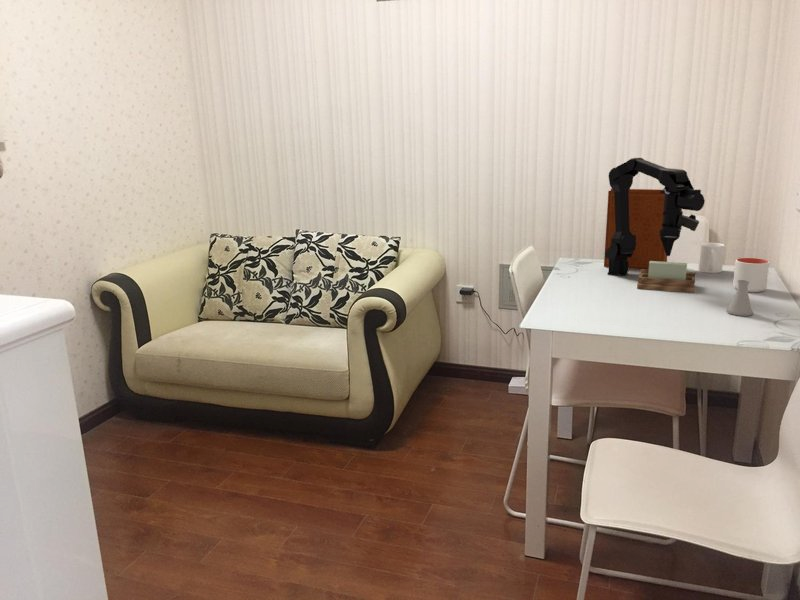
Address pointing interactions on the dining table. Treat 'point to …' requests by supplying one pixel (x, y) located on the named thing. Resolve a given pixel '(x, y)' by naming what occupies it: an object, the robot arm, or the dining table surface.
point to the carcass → (666, 283)
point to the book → (640, 226)
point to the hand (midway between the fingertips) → (668, 253)
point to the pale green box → (667, 270)
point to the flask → (741, 300)
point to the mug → (711, 257)
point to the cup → (751, 273)
